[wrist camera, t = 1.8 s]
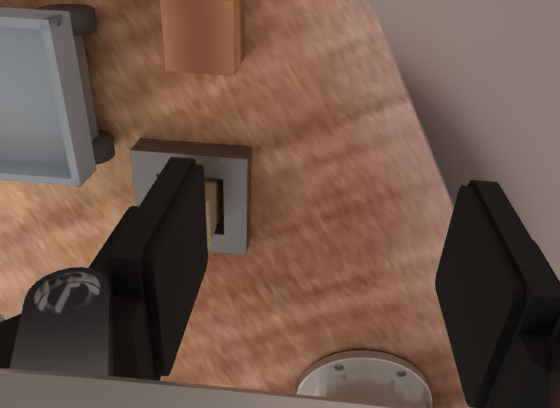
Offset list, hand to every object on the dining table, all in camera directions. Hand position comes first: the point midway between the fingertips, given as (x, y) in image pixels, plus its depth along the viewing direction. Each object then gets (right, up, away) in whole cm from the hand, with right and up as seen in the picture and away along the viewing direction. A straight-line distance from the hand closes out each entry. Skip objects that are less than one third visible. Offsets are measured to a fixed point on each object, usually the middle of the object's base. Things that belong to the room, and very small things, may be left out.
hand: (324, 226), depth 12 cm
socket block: (-7, +1, +25) cm, 26 cm away
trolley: (-18, +9, +22) cm, 30 cm away
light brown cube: (-5, +12, +19) cm, 23 cm away
